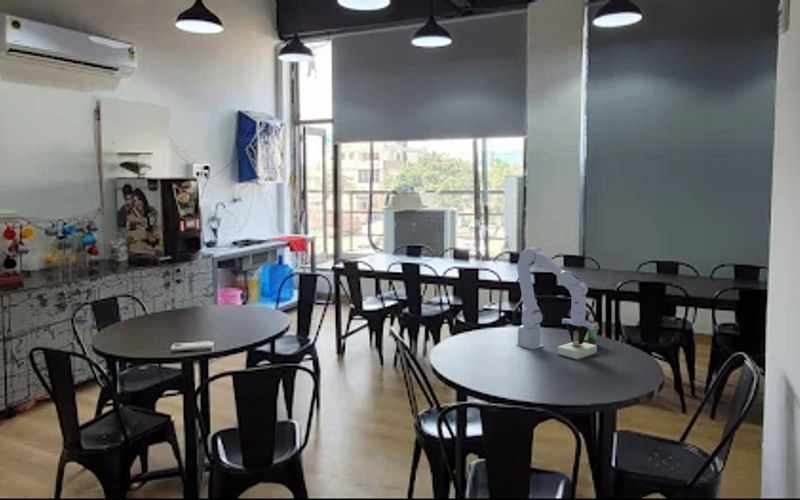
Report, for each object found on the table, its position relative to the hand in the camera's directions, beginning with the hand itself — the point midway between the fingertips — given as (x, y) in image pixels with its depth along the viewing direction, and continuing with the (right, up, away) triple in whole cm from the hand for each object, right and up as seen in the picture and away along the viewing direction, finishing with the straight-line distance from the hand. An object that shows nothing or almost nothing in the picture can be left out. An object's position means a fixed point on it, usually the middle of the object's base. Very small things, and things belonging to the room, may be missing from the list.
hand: (577, 342), depth 268 cm
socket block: (0, -5, +1) cm, 5 cm away
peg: (0, -3, 0) cm, 3 cm away
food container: (+10, -3, +15) cm, 18 cm away
